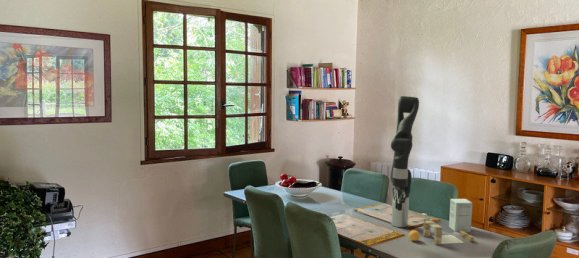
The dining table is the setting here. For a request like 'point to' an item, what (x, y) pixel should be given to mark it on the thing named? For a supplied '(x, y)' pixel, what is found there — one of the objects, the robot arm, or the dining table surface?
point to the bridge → (437, 230)
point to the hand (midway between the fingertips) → (398, 209)
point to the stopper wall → (466, 236)
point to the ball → (414, 235)
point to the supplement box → (460, 215)
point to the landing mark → (449, 239)
